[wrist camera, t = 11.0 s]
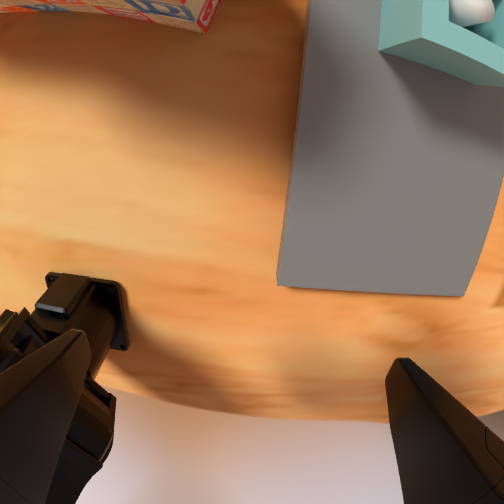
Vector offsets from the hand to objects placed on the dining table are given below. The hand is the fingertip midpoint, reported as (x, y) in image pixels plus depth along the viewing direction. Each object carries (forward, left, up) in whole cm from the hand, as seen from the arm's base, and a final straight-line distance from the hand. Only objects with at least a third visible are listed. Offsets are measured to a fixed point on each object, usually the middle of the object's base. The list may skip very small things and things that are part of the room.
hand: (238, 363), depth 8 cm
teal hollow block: (+13, -9, -10) cm, 19 cm away
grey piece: (+8, -9, -12) cm, 17 cm away
